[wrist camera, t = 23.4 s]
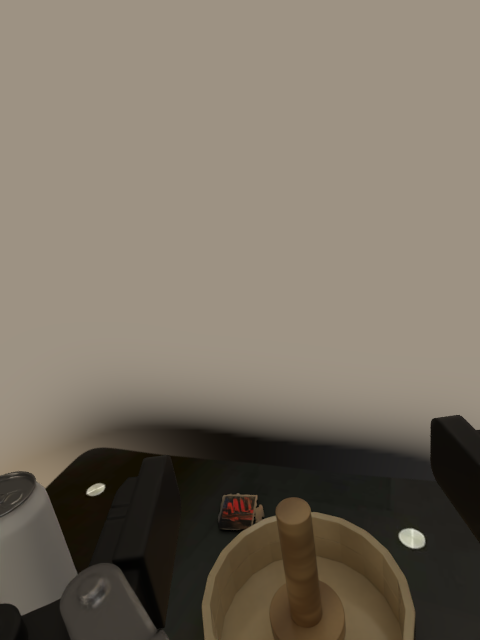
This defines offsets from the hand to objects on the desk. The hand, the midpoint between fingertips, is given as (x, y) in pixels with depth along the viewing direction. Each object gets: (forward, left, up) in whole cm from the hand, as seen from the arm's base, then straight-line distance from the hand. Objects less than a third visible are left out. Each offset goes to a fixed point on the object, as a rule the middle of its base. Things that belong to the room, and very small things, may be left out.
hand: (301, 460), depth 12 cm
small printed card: (+20, -13, -24) cm, 34 cm away
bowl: (+7, -7, -24) cm, 26 cm away
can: (+27, +5, -24) cm, 37 cm away
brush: (+7, -7, -23) cm, 25 cm away
